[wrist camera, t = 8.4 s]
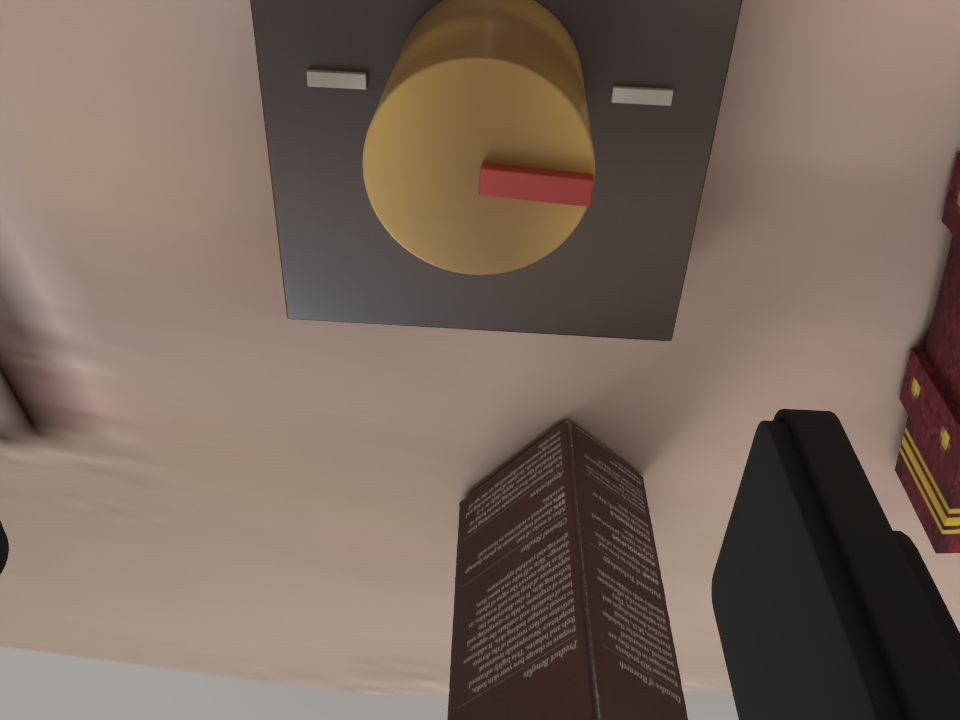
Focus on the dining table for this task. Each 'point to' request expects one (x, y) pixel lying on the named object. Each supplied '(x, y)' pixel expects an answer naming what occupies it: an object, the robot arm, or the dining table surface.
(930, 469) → the decorative book
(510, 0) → the lock knob
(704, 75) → the lock plate
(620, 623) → the box
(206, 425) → the dining table surface
